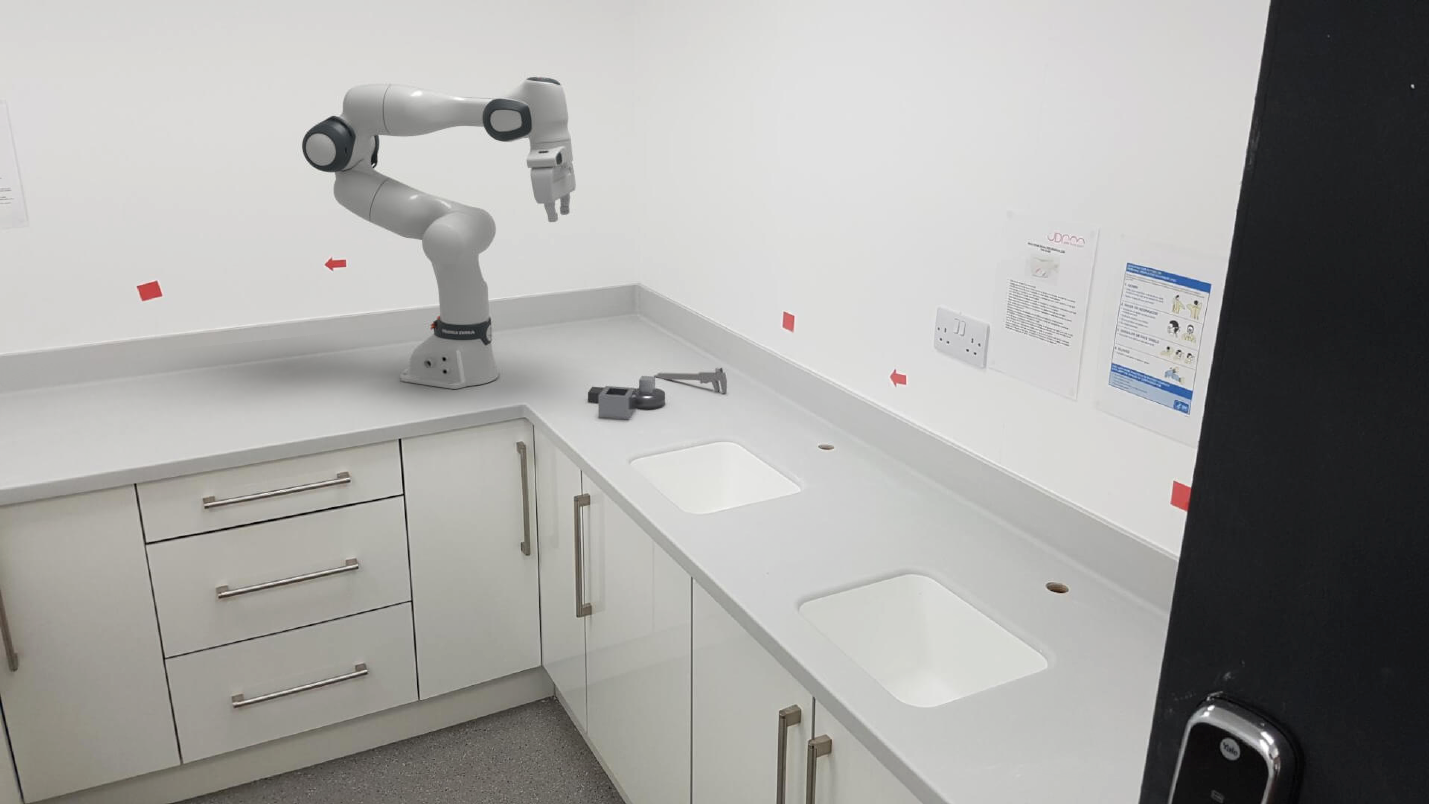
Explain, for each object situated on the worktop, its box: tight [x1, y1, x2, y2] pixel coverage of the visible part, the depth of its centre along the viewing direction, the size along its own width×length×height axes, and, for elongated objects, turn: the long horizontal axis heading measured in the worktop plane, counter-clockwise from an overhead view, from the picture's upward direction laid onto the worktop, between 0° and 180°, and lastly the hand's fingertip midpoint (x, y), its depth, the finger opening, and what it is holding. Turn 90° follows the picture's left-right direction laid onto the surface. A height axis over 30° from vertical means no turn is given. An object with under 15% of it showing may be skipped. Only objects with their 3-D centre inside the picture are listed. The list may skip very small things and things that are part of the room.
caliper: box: [653, 367, 728, 395], centre depth 256 cm, size 20×1×6 cm, turn 56°
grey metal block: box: [597, 385, 636, 421], centre depth 237 cm, size 7×7×5 cm
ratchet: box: [587, 375, 666, 411], centre depth 244 cm, size 17×8×6 cm, turn 82°
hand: (559, 217), depth 242 cm, fingers open, 8 cm apart
